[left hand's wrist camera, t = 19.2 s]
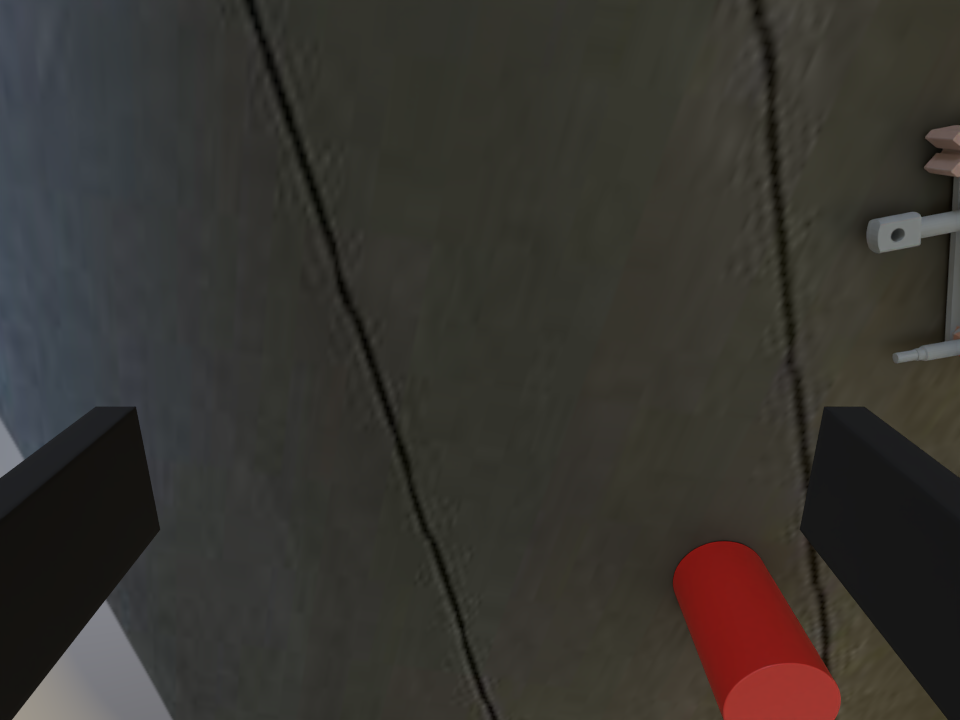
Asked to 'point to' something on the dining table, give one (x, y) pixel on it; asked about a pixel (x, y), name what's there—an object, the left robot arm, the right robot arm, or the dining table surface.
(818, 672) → the tin
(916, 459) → the left robot arm
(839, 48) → the dining table surface
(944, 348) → the clamp
